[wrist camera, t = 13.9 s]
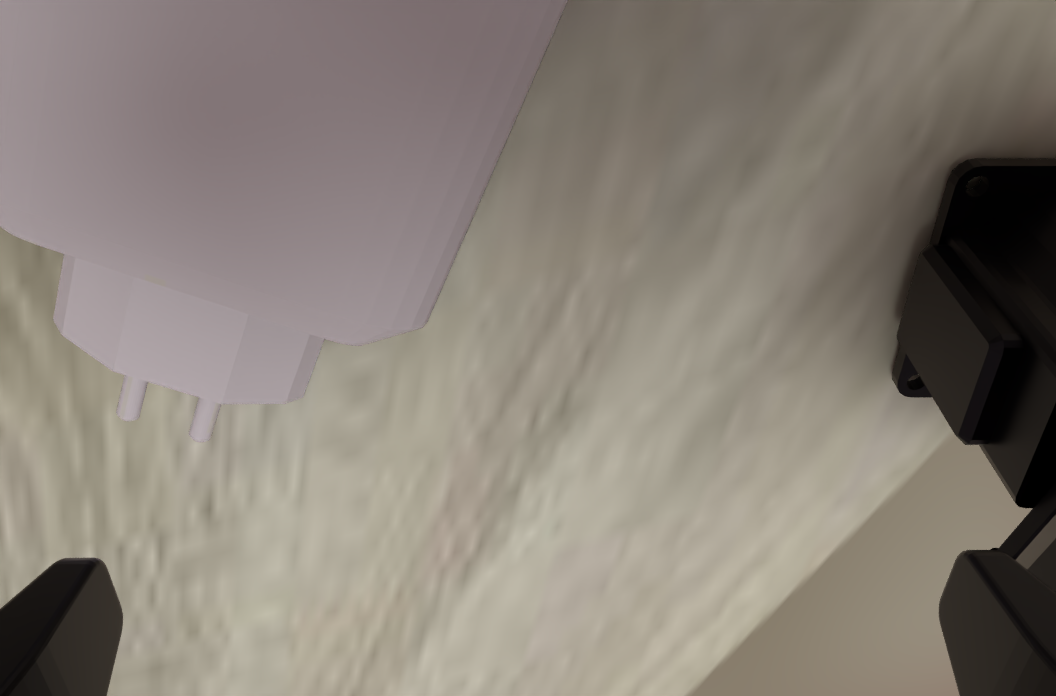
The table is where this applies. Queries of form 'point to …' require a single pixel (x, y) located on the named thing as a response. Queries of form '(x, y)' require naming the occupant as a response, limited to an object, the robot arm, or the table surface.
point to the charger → (252, 173)
